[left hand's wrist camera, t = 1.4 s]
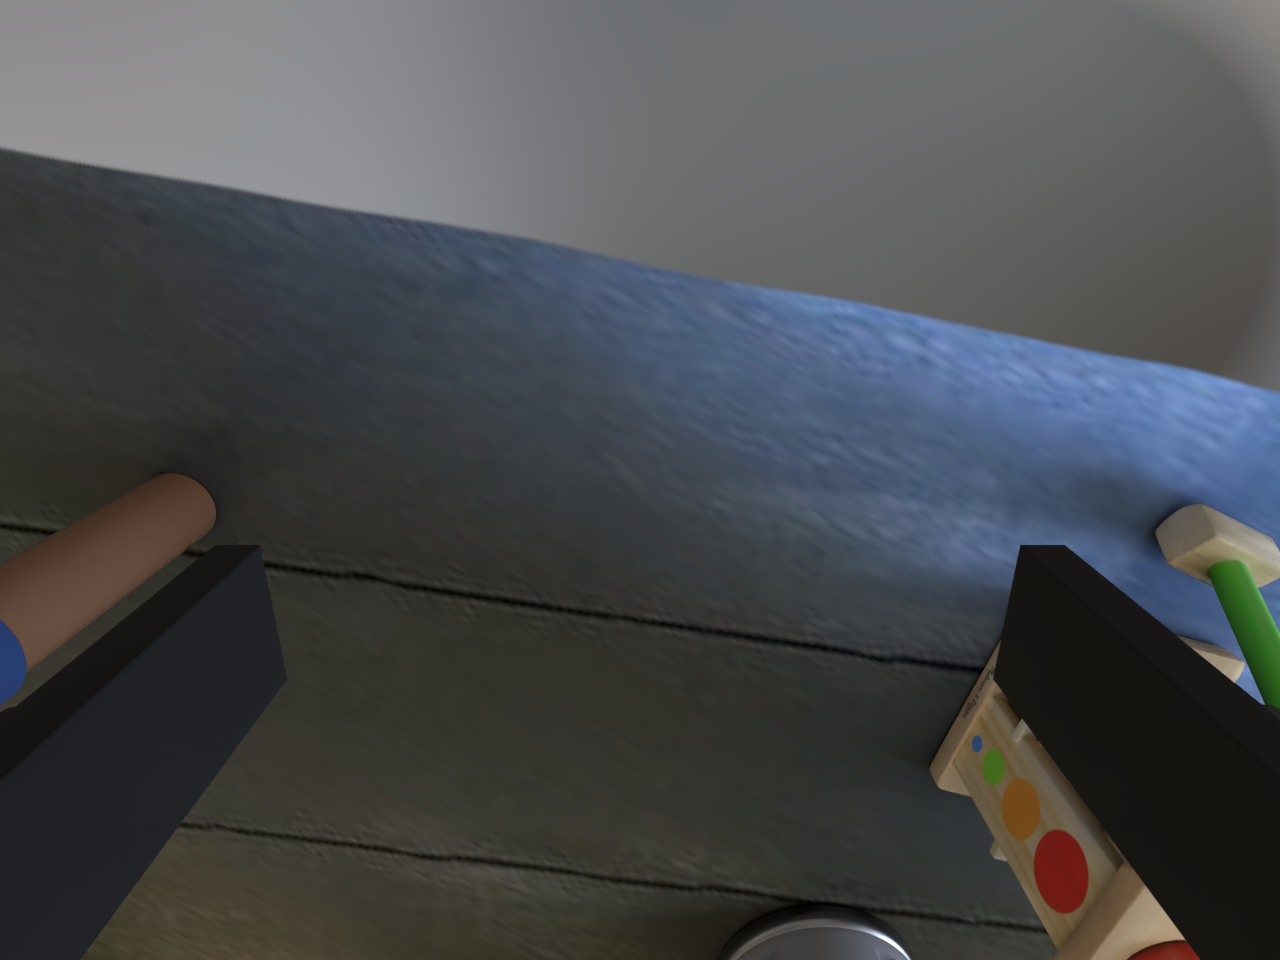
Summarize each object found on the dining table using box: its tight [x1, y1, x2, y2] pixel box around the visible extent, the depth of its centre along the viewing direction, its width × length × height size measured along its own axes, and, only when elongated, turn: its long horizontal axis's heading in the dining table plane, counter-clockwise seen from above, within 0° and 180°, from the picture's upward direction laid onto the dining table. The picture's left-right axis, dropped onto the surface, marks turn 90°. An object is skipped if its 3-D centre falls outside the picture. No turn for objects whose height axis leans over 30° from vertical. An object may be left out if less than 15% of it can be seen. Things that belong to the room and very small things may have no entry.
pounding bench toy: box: [930, 504, 1280, 960], centre depth 38 cm, size 23×14×18 cm, turn 163°
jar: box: [0, 473, 216, 673], centre depth 35 cm, size 4×4×16 cm
